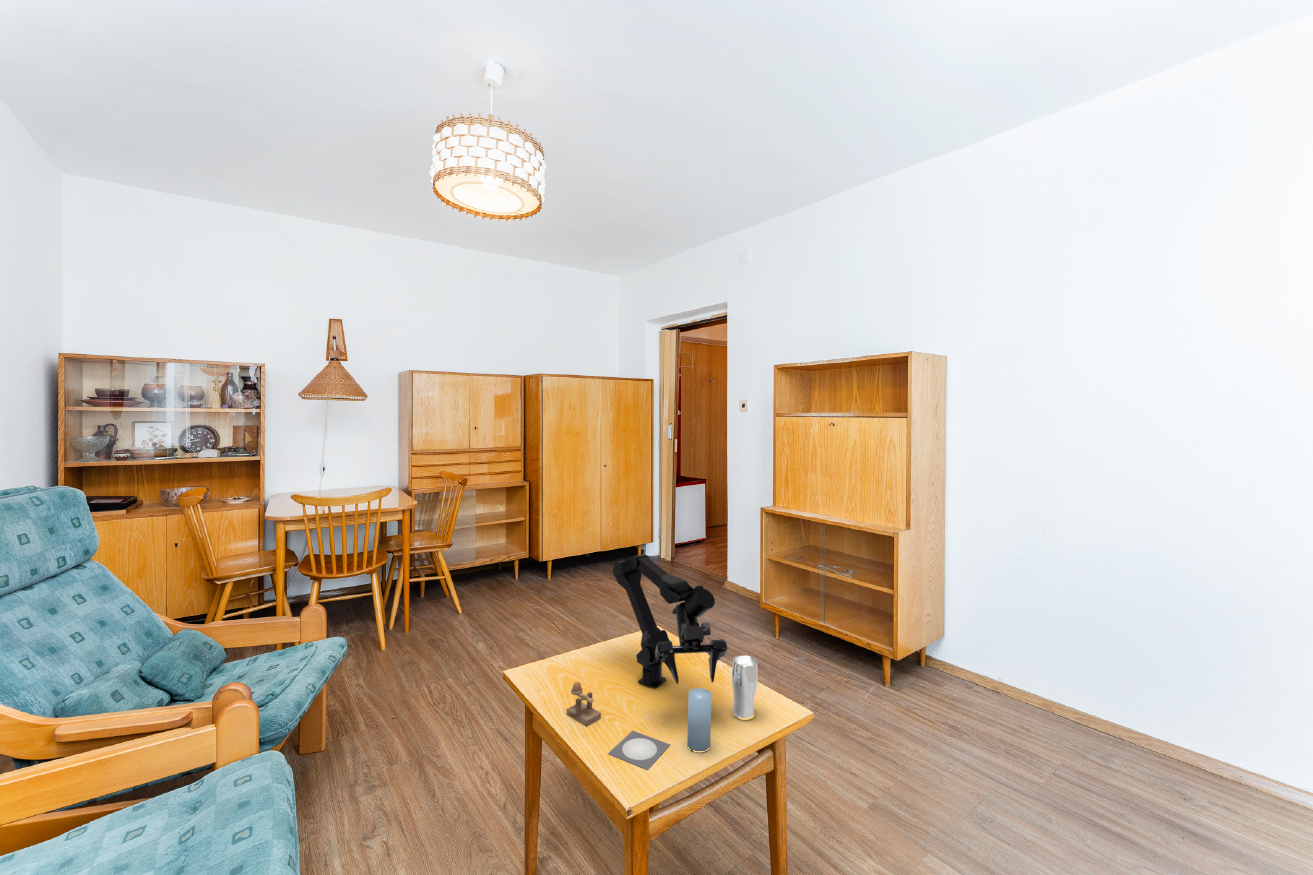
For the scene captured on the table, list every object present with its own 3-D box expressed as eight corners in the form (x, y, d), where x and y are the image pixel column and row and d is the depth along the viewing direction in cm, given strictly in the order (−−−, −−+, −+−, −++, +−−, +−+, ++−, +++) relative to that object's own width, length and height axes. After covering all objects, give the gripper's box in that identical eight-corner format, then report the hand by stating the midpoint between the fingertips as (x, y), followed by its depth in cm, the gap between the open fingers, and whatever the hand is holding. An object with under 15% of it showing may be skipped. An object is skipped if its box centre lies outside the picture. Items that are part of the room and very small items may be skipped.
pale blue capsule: (693, 736, 135) (694, 685, 135) (713, 743, 132) (715, 691, 132) (683, 747, 130) (684, 695, 130) (704, 755, 127) (705, 702, 127)
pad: (632, 730, 137) (632, 730, 137) (670, 744, 131) (670, 744, 131) (607, 753, 127) (607, 753, 127) (647, 770, 122) (647, 769, 122)
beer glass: (728, 707, 149) (729, 654, 148) (752, 707, 149) (754, 654, 149) (733, 722, 142) (735, 666, 141) (759, 721, 142) (761, 666, 142)
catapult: (565, 713, 144) (566, 683, 143) (579, 706, 147) (580, 677, 147) (586, 726, 138) (587, 695, 138) (600, 718, 142) (601, 688, 141)
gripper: (657, 612, 140) (663, 673, 130) (726, 610, 143) (737, 669, 133) (653, 629, 148) (657, 688, 138) (718, 627, 151) (727, 685, 141)
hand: (695, 682), depth 137 cm, fingers open, 9 cm apart
